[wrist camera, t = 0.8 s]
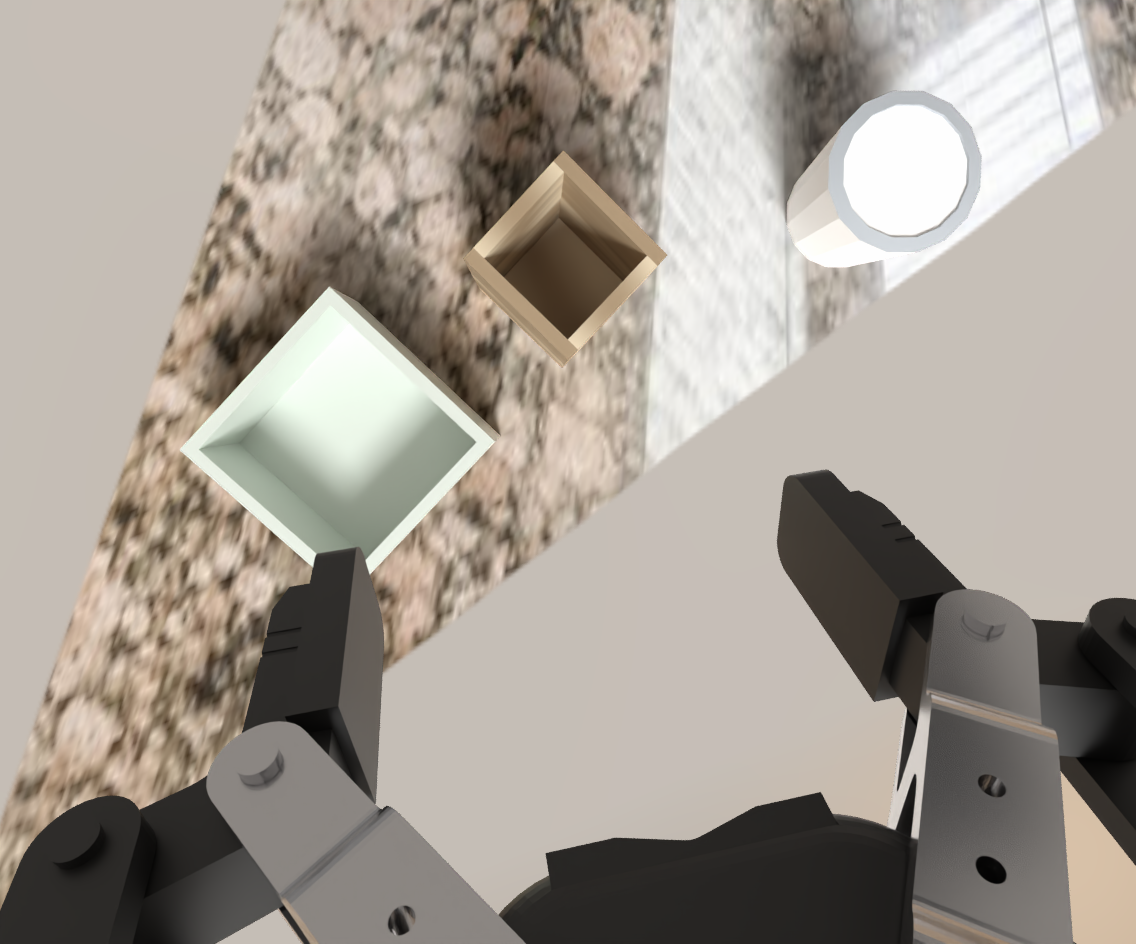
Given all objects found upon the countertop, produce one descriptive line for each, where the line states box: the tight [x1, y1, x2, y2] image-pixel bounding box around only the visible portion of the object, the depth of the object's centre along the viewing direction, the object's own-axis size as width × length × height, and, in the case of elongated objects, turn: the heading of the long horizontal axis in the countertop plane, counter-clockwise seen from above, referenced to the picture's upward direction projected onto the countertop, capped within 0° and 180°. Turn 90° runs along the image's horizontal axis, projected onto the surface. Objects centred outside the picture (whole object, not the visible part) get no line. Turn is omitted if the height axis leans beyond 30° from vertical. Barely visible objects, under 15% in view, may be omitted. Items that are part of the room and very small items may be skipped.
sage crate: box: [180, 287, 500, 574], centre depth 35 cm, size 10×10×5 cm
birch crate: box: [463, 150, 667, 368], centre depth 33 cm, size 6×6×8 cm
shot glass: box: [786, 91, 981, 267], centre depth 34 cm, size 7×7×7 cm
